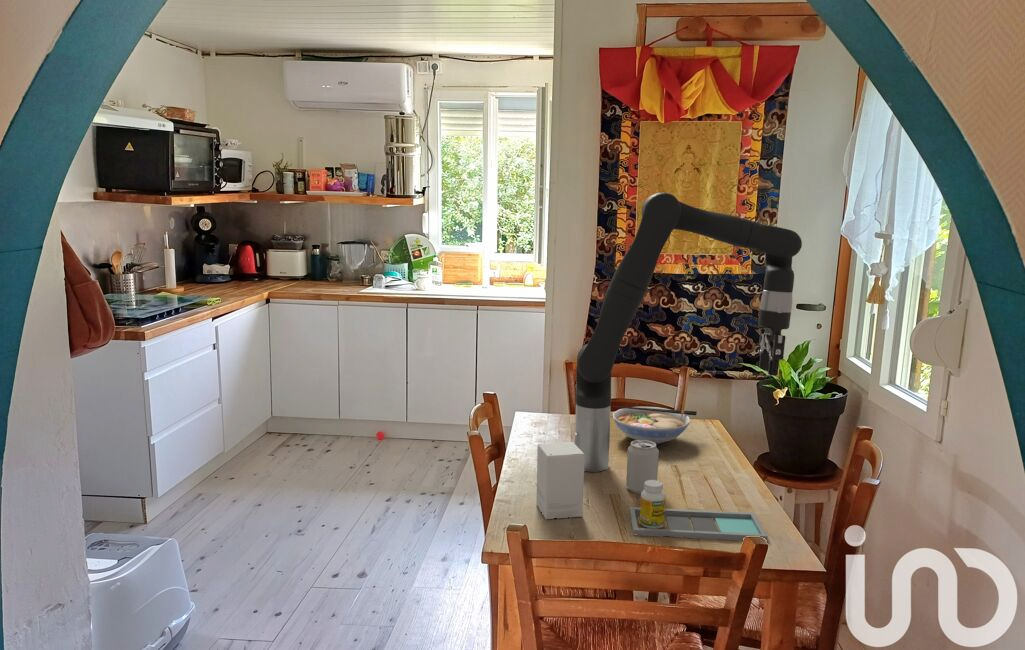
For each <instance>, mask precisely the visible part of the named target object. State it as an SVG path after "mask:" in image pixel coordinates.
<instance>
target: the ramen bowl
mask: <svg viewBox="0 0 1025 650" xmlns="http://www.w3.org/2000/svg"><path fill="white" fill-rule="evenodd" d="M612 408H620V409H618V410H616V411H614V412H612V418H613V421H614V423H615V424H616V426H617V428H618V429H619V430H620V431H621V433H624V434H625V436H628V438H630V439H632V440H634V441H635V440H647V441H651V442H654V443H655V444H656V445H658V444H660V445H661V444H663V443H665V442H669V441H672V440H674V439H677V438H678V437H679V436H680V435H681V434H682V433H683V432H685V430H686V429H687V428H688V426H689V425H690V423H691V419H690V418H691V417H690V416H697V410H679V409H669V408H663V407H656V406H617V405H613V406H612ZM688 415H689V416H688Z"/></svg>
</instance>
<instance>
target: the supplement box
mask: <svg viewBox="0 0 1025 650" xmlns="http://www.w3.org/2000/svg"><path fill="white" fill-rule="evenodd" d="M574 443H575V441H563V442H550V443H549V442H547V443H545V442H544V443H538V444H537V451H536V452H537V453H536V454H537V456H536V457H537V458H536V504H537V505H536V506H537V508H538V507H539V508H538V509H539V511H540V513H541V512H542V513H541V514H542V516H543V515H544V516H543V517H544V519H545V520H554V518H557V519H567V518H568V517H569V519H570V518H582V517H583V516H584V513H583V511H584V509H583V508H584V487H585V486H584V484H585V483H584V482H585V471H584V459H585V454H584V453H583V452H582V451H581V450H580V449H579V448H578V447H577V446H576V445H575V444H574Z"/></svg>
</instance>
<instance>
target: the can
mask: <svg viewBox="0 0 1025 650" xmlns="http://www.w3.org/2000/svg"><path fill="white" fill-rule="evenodd" d="M659 451H660V450H659V449H658V448H657V444H655V443H654V442H651V441H647V440H635V439H634V440H632V441H631V442H630V446H628V447H627V457H626V460H627V461H626V462H627V463H626V481H625V482H626V484H625V485H626V486H625V487H626V488H627V489H628V490H629V491H630V492H632V493H634V494H638V495H641V493H642V491H643V490H645V489H644V483H645V481H647V480H657V481H658V474H659V453H660V452H659Z"/></svg>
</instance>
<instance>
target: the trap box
mask: <svg viewBox="0 0 1025 650" xmlns="http://www.w3.org/2000/svg"><path fill="white" fill-rule="evenodd" d="M628 510H629V518H630V523H631V524H632V525H631V530H632V535H633V534H637V535H636V536H641V535H655V536H654V537H662V536H674V537H673V538H683V537H686V539H690V538H691V539H703V538H704V539H708V540H725V541H726V540H727V541H744V540H743V538H744V537H746V536H760V537H763V538H765V539H766V540H767V541H768V540H769V539H768V538H769V535H768V533H766V531H765V529H764V528H763V526H762V524H761V522H760V520H759V518H758V517H757V515H756V513H755V512H747V511H746V512H742V511H722V510H721V511H720V510H701V509H699V510H698V509H677V508H675V509H674V508H665V517H664V518H665V520H666V524H667V527H668V529H666V528H664V529H663V528H658V529H650V528H646V527H644V528H643V527H639V526H638V522H637V516H636V515H640V507H638V506H637V507H636V506H634V507H633V506H632V507H631V506H629V509H628ZM688 516H690V517H688ZM693 529H694V530H693Z"/></svg>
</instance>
